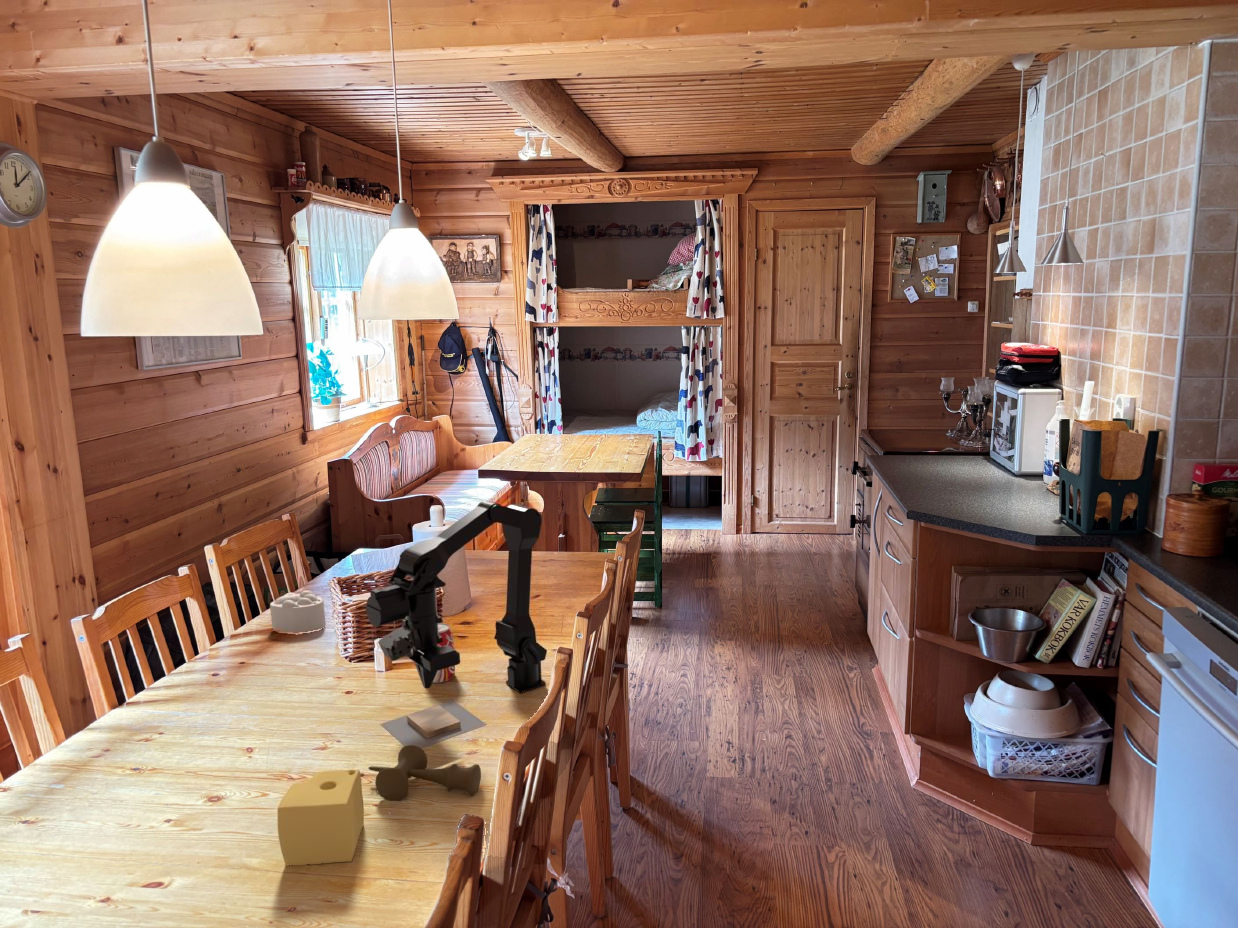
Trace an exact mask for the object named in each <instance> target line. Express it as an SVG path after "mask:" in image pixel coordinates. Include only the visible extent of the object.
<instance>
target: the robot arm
mask: <svg viewBox="0 0 1238 928" xmlns="http://www.w3.org/2000/svg"><path fill="white" fill-rule="evenodd" d="M542 516H543V515H542V514H541V513H540V512H539V510H538V509H536V508H533V507H530V506H529V507H528V506H525V505H522V504H518V503H512V504H510V505H508V506H505V505H502V504H500V503H497V502H494V501H489V500H483V501H480V502H479V503H478V504H477V506H476V507H475V508H473V509H472V510H471V511H469V512H468V513H467V514H465V515H464V516H462V517H461V518H460V519H458V520H457V521H456V522H455V523H453V524H452V525H450V526H448V527H447V528H446V529H444V530H443V531H441V532H440V533H439V534H438V535H436V536H434V537H433V538H430V539H427V540H423V541H420V542H417V543H415V544H413V545H411V546H409V547H407V548H405V549H404V550H403V551H402V552H401V553H400V554H399V560H398V563H397V565H396V567H395V569H394V570H393V572H392V574H391V577H390V579H389V581H388V582H387V583H388V585H389V586H386V587H382V588H375V589H371V590H370V591H369V592H370V593H369V595H370V596H369V597H368V598H367V600H366V604H365V613H366V617H367V619H368V621H369V623H370V624H371V626H373V627H375V628H379V627H382V626H385V625H388V624H391V623H395V622H398V621H401V623H402V626H401V627H398V628H395V629H394V630H392V631H391V632H389V633H388V634H387V635H385V636H384V637H382V638H380V639H379V640H378V645H379V647H380V649H381V651H382V653H383V655H384V656H385V657H386V658H388V659H389V660H390V661H391V662H395V661H397V660H399V659H400V658H403V657H404V656H406V657H407V658H408V659H409V660H411V661H412V662H413V663H414V666H415V668H416V671H417V674H418V676H419V678H420V681H421V684H422V687H423V689H425V690H428V689H429V688H431V687H432V684H433V683H432V682H433V680H434V678H435V675H436V673H437V671H438V670H441V669H445V668H448V667H451V666H455V667H456V666H457V665H460V664H461V653H460V652H459V651H457V650H456V649H455V648H454V649H453V648H451V647H449V646H448V645H445V646H440V645H437V644H438V643H442V642H443V637H442V636H440V635H439V633H438V623H443V622H442V621H443V619H442V616H440V615H438V605H437V589H439V588H442V587H446V585H447V583H446V582H445V581H443V580H442V579H440V577H439V576H438V575H439V574H440V573H441V572H442V571H443V570H444V569H445V568H446V566H447V564H448V562H449V560H450V559H451V557H452V556H453V555H455V553H457V552H459V551H460V550H461V549H462V548H463V547H465V546H466V545H467V544H469V543H470V542H471V541H473V540H474V539H475V538H477V537H478V536H480V535H481V534H482V533H484V531H486V530H487V529H489V528H490V527H492V526H493V525H494V524H496V523H498V524H501V528H502V534H503V536H504V540H505V542H506V544H507V546H508V555H507V556H508V558H507V559H508V561H507V580H506V581H507V583H506V585H507V586H506V605H505V606H506V608H505V609H506V610H505V614H504V616H503V617H502V618H501V620H496V621H495V623H494V624H495V626H494V627H495V635H494V637H493V639H494V640H496V644H497V646H498V647H499V648H500V650H501V651H503V654H504V656H507V657H510V658H508V666H507V668H506V669H507V680H506V681H505V684H507V686H510V687H511V688H513V689H514V690H516V691H518V692H519V693H525V692H528V691H531V690H534V689H536V688H540V687H542V686H545V685H546V683H547V682H546V681H545V680H544V679H542V678H543V677H542V662H544V661H545V660H546V657H547V652H548V650H547V648H545V647H543V646H542V645H541V644H540V643H538V642H537V634H536V627H535V624H534V622H533V620H532V617H531V615H530V608H531V607H530V606H531V605H530V604H531V602H530V601H531V583H532V582H531V580H532V562H533V561H532V559H533V548H534V546H535V545H536V542H538V539H539V538H540V534H541V529H542V523H543V519H542ZM406 577H408V578H411V579H412V581H410V580H409V579H406Z"/></svg>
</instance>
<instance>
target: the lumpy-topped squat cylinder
mask: <svg viewBox="0 0 1238 928" xmlns="http://www.w3.org/2000/svg"><path fill="white" fill-rule="evenodd" d="M269 611H270V619H271V620H270V621H271V628H273V629H274V630H280V631H283V632H293V633H299V632H308V631H313V630H318V629H321V628H323V627H325V625H326V614H325V613H326V612H325V602H324V598H323V597H322V596H320V595H317V594H314V593H313V592H312V591H311V590H308V589H307V590H305V589H304V590H303V591H301V592H300V593H295V592H287V593H285V594H283V595H282V596H279V597H278V598H276V599H275V600H274V601H271V602H270V604H269ZM326 626H327V625H326ZM325 628H326V627H325Z"/></svg>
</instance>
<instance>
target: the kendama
mask: <svg viewBox="0 0 1238 928" xmlns="http://www.w3.org/2000/svg"><path fill="white" fill-rule="evenodd" d="M397 755H398V756H397V764H396V766H394V767H391V766H390V767H389V766H376V765H375V766H373V765H371V766H369V767H368V770H369V771H373V772H377V775H376V777H375V781H374V784H375V789H376V791H377V793H378V795H379V796H380V797H381V798H382V799H384V800H386V801H390V802H401V801H402V800H405V799H406V798H407V796H408V794H409V792H410V791H409V789H410V783H409V779H410V778H415V779H420V780H423V781H427V782H432V783H435V784H438V785H441V786H442V787H444V788H446V790H447V791H448V792H452V791H455V790H458V791H459V790H460V791H463V792H465V793H466V794H467V795H468V796H469V797H474V796H475V795H476V794H477V793H478V790H479V788H480V785H481V781H482V779H481V778H482V771H481V766H480V765H479V764H478V763H477V764H475V763H474V764H473V765H472V766H469V767H461V766H459V765H458V764H457V763H452V764H451V765H449V766H448V767H442V768H427V767H428V762H429V761H428V756H427V755H428V754H427V753H426V752H425V750H424V749H423V748H420V747H418V746H414V745H407V746H403V747H401V748H400V751H399V752H398V754H397Z"/></svg>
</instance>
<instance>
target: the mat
mask: <svg viewBox="0 0 1238 928" xmlns="http://www.w3.org/2000/svg"><path fill="white" fill-rule="evenodd" d="M438 705H439V706H441V707H442V708H443V709H445V710H446V711H447V712H449V713H450V714H451V715H453V716H454V717H455V718H457V719H458V720H459V721H460V724H461V727H460V728H457V729H454V730H451V731H448V732H445V733H443V734H440V735H437V736H434V737H431V738H429V739H427V738H426V737H425V736H424V735H423V734H422V733H420V732H419V731H418V730H417V729H416V728H414V727H413V726H412V725H411V724H410V723H409V722H407V716H408V715H411V714H414V713H417V712H420V711H423V710H426V709H429V708H432V707H435V706H438ZM379 725H381V727H382V728H384V730H386V731H387V732H388V733H390V735H392V737H393V738H395V739H396V741H398V742H399V743H400V744H401V745H403V747H405V746H407V745H414V746H418V747H420V748H421V749H423V748H426V747H429V746H432V745H435V744H437V743H440V742H443V741H445V740H448V739H451V738H454V737H456V736H457V737H458V736H459V735H462V734H465V733H468V732H471V731H473V730H476V729H479V728H482V727H484V726H486V725H487V723H486V722H484V721H482V720H481V719H479V717H477V716H476V715H474V714H473V713H472V712H470V711H469V710H467V709H466V708H465V707H463V706H462V705H461V704H459V702H457V701H456V700H454V699H451V700H448V701H445V702H442V703H439V704H436V705H433V706H431V707H426V708H424V709H421V710H418V711H415V712H413V713H409V714H406V715H403V716H400V717H397V718H395V719H391V720H388V721H385V722H382V723H380V724H379Z"/></svg>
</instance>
